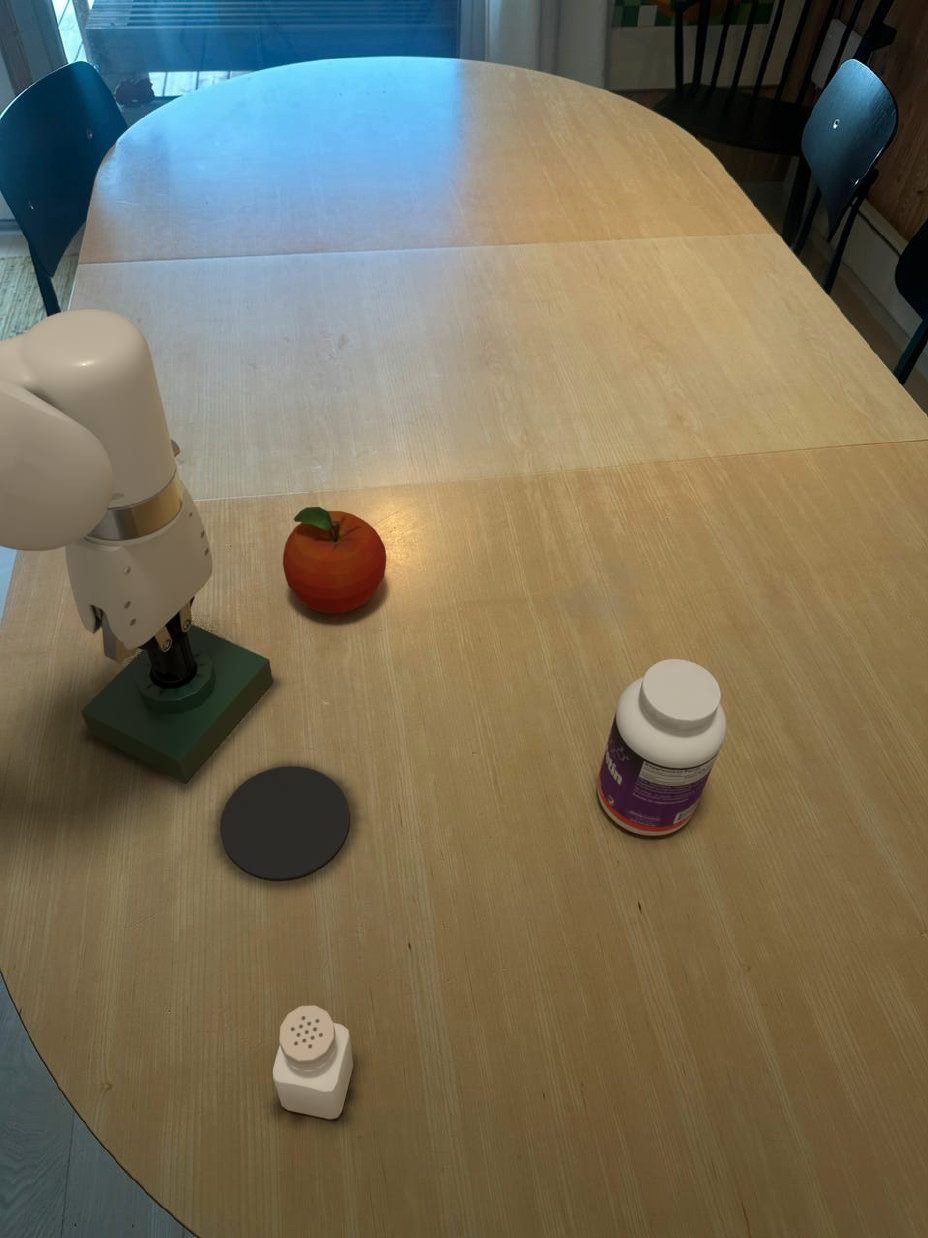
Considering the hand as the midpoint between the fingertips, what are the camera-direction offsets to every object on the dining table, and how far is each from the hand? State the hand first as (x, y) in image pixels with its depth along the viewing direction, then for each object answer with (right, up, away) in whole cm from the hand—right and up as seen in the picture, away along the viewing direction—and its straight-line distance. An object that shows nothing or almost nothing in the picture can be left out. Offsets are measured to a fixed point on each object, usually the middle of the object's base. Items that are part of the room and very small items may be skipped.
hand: (174, 665), depth 79 cm
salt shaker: (+14, -27, -16) cm, 34 cm away
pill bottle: (+38, -11, 0) cm, 40 cm away
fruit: (+12, +6, +14) cm, 19 cm away
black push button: (0, -2, +1) cm, 2 cm away
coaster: (+10, -12, -3) cm, 16 cm away
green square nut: (0, -4, +4) cm, 6 cm away
